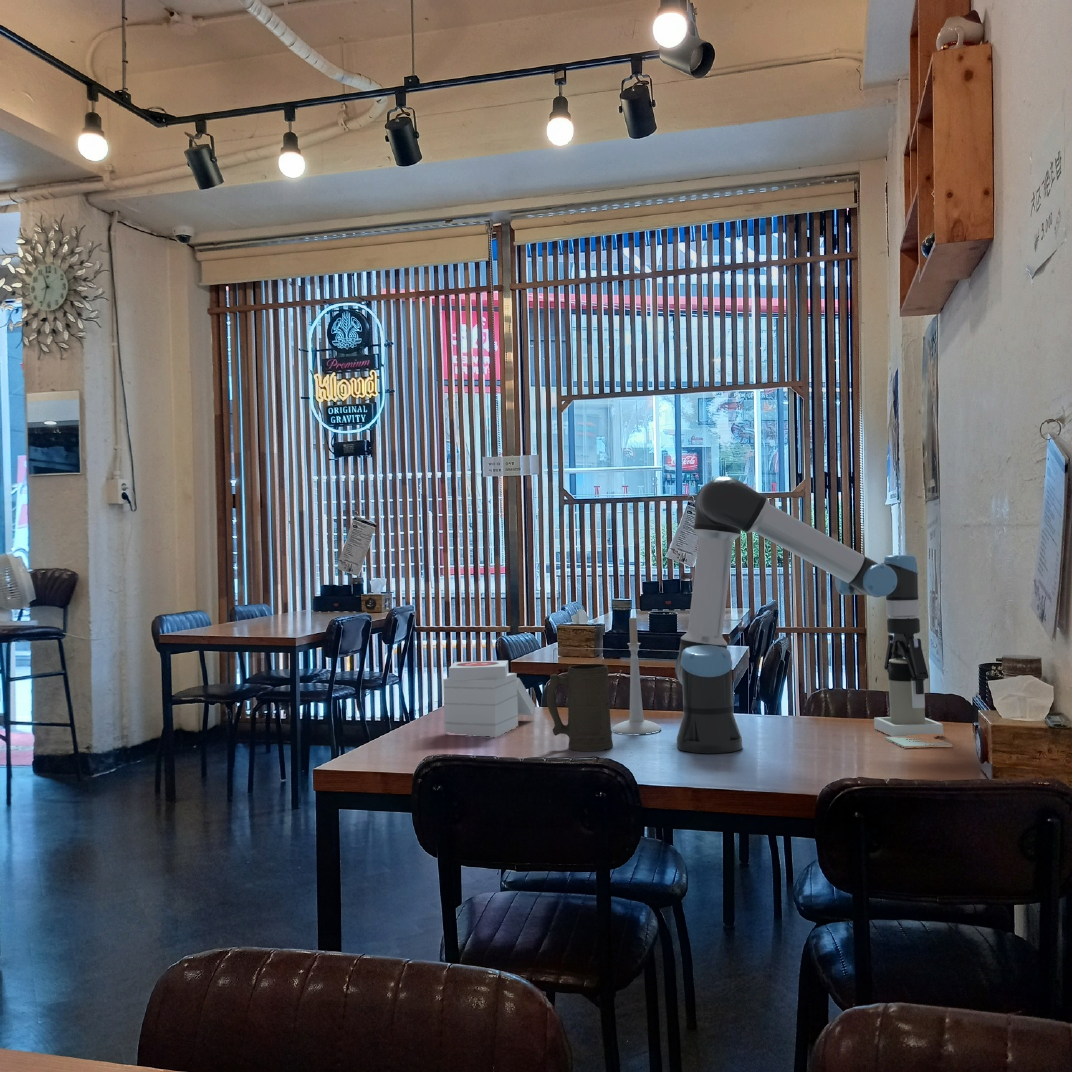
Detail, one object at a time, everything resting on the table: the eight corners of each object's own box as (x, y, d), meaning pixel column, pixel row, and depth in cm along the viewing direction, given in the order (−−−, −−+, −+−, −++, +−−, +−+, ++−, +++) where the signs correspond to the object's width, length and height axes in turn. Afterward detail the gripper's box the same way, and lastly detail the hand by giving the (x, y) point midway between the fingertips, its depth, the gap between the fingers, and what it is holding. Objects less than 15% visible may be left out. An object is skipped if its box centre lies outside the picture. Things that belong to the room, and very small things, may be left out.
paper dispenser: (542, 719, 264) (540, 656, 264) (499, 739, 236) (497, 668, 237) (481, 717, 271) (479, 655, 271) (432, 736, 243) (430, 667, 244)
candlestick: (660, 726, 248) (656, 614, 249) (662, 734, 235) (658, 617, 236) (612, 726, 249) (609, 615, 250) (611, 735, 236) (608, 618, 237)
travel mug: (920, 737, 222) (917, 662, 222) (886, 734, 227) (883, 660, 227) (929, 731, 228) (926, 658, 229) (896, 729, 233) (893, 657, 233)
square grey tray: (893, 738, 221) (893, 725, 221) (874, 729, 233) (874, 717, 233) (943, 736, 221) (942, 724, 222) (921, 727, 233) (921, 715, 234)
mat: (904, 748, 209) (904, 746, 209) (885, 739, 220) (885, 737, 220) (952, 747, 209) (952, 744, 209) (930, 738, 220) (930, 735, 220)
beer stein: (609, 741, 229) (601, 660, 229) (621, 749, 218) (612, 665, 218) (549, 749, 226) (541, 668, 226) (557, 758, 215) (549, 672, 216)
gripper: (941, 619, 216) (945, 710, 215) (897, 613, 241) (901, 695, 240) (909, 620, 216) (913, 712, 215) (868, 614, 241) (872, 696, 240)
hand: (906, 703), depth 228 cm, fingers open, 13 cm apart
